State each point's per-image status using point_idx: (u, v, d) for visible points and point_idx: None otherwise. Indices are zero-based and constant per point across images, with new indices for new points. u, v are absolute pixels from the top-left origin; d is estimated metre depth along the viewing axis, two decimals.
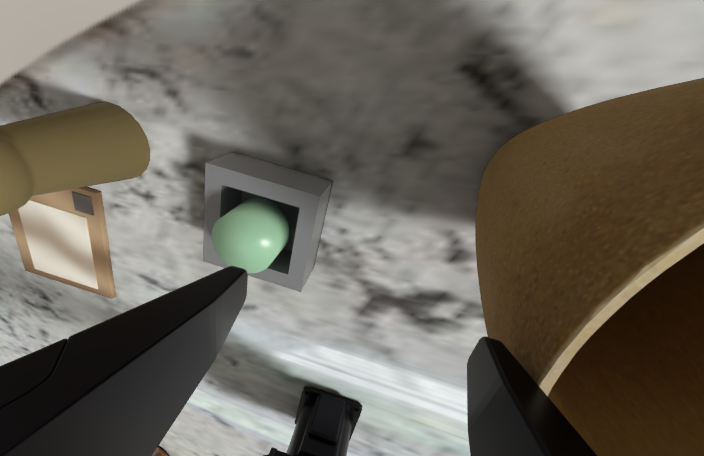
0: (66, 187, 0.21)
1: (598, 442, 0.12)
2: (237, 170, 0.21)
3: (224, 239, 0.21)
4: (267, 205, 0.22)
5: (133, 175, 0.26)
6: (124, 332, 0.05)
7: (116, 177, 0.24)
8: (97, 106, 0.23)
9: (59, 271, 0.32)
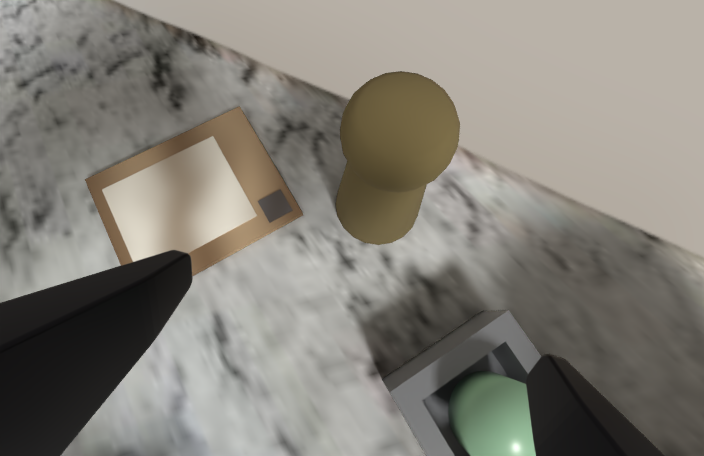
0: (379, 205, 0.17)
1: None
2: (531, 344, 0.17)
3: (499, 408, 0.15)
4: None
5: (368, 239, 0.21)
6: (38, 307, 0.05)
7: (374, 231, 0.20)
8: None
9: (127, 219, 0.22)
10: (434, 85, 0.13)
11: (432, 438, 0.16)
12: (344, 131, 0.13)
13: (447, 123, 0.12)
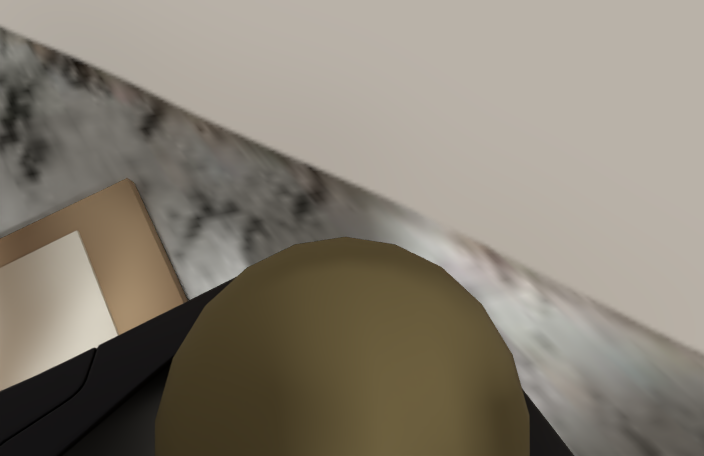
0: None
1: None
2: None
3: None
4: None
5: None
6: (152, 340, 0.05)
7: None
8: None
9: None
10: (450, 311, 0.04)
11: None
12: None
13: None
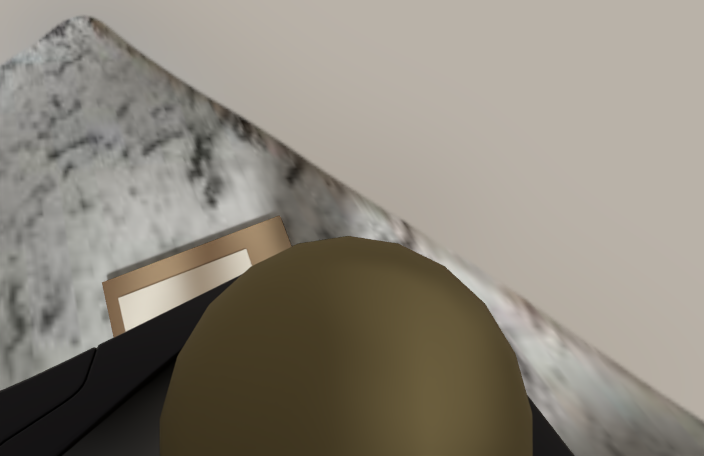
0: None
1: None
2: None
3: None
4: None
5: None
6: (151, 340, 0.05)
7: None
8: None
9: None
10: (453, 310, 0.04)
11: None
12: None
13: None
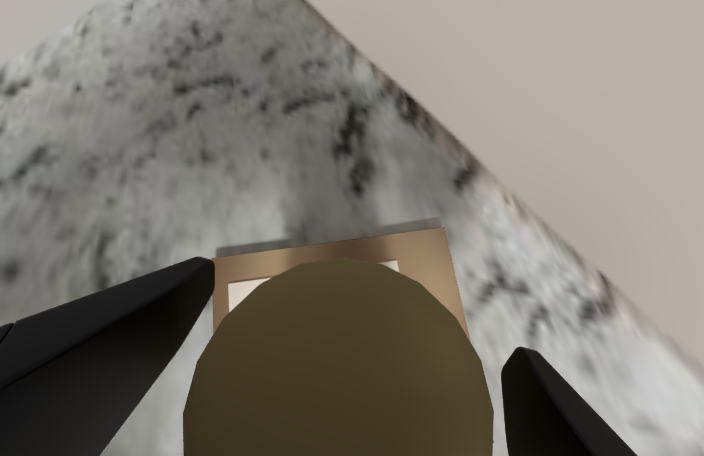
0: None
1: None
2: None
3: None
4: None
5: None
6: (74, 317, 0.05)
7: None
8: None
9: None
10: (426, 325, 0.05)
11: None
12: None
13: None
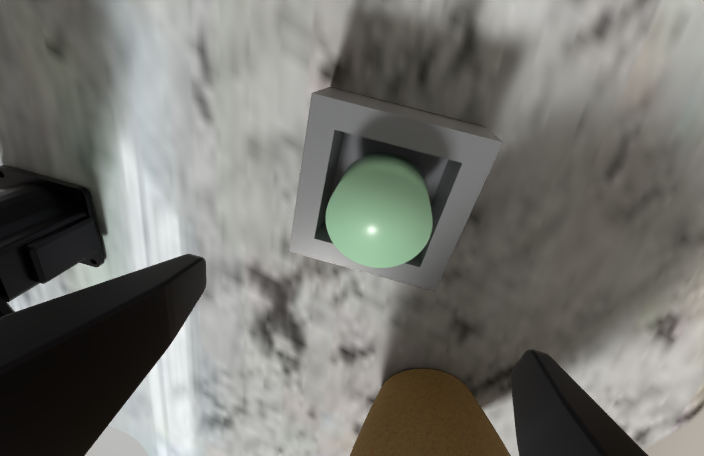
0: None
1: None
2: (480, 189, 0.14)
3: (385, 195, 0.12)
4: None
5: None
6: (60, 313, 0.05)
7: None
8: None
9: None
10: None
11: (317, 164, 0.14)
12: None
13: None
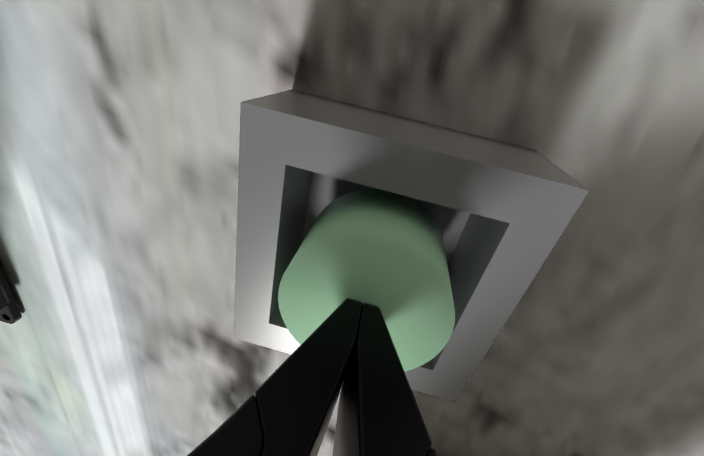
0: None
1: None
2: (537, 263, 0.08)
3: (373, 274, 0.07)
4: None
5: None
6: (301, 384, 0.05)
7: None
8: None
9: None
10: None
11: (262, 218, 0.09)
12: None
13: None
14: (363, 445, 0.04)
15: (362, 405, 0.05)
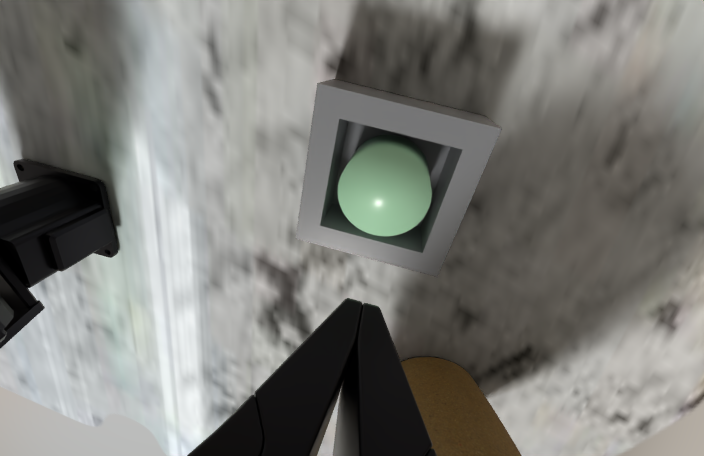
0: None
1: None
2: (480, 175, 0.14)
3: (390, 169, 0.14)
4: None
5: None
6: (301, 384, 0.05)
7: None
8: None
9: None
10: None
11: (322, 152, 0.15)
12: None
13: None
14: (363, 445, 0.04)
15: (362, 405, 0.05)
